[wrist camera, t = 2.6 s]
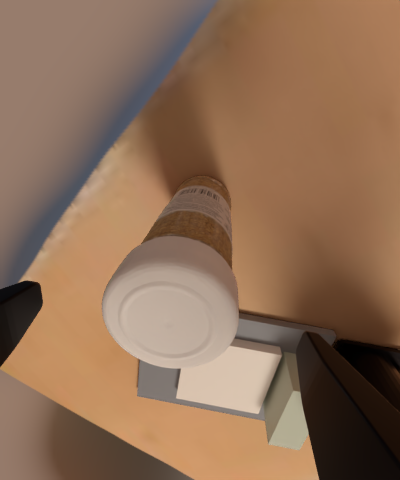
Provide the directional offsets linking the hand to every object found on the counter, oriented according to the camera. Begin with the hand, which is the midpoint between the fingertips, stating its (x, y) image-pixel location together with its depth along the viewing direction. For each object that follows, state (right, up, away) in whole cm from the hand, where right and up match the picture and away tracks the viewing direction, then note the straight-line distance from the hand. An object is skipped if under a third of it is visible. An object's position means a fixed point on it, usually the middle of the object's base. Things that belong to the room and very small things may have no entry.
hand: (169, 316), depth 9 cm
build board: (+4, -11, +19) cm, 22 cm away
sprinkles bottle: (+1, +6, +12) cm, 13 cm away
